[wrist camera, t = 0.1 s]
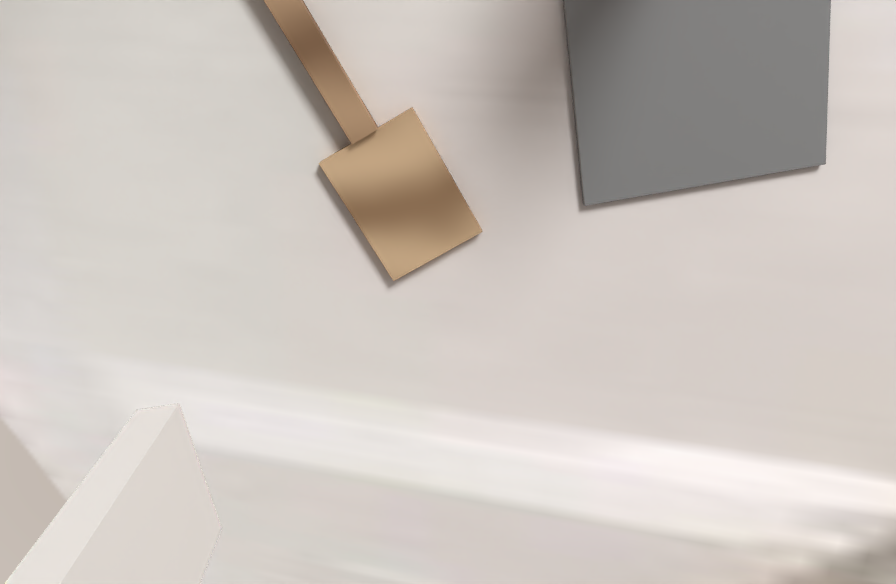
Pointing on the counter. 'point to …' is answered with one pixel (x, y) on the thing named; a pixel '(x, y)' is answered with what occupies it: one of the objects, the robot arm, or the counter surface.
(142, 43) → the counter surface
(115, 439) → the robot arm
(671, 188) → the mat
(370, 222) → the turner
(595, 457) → the counter surface
